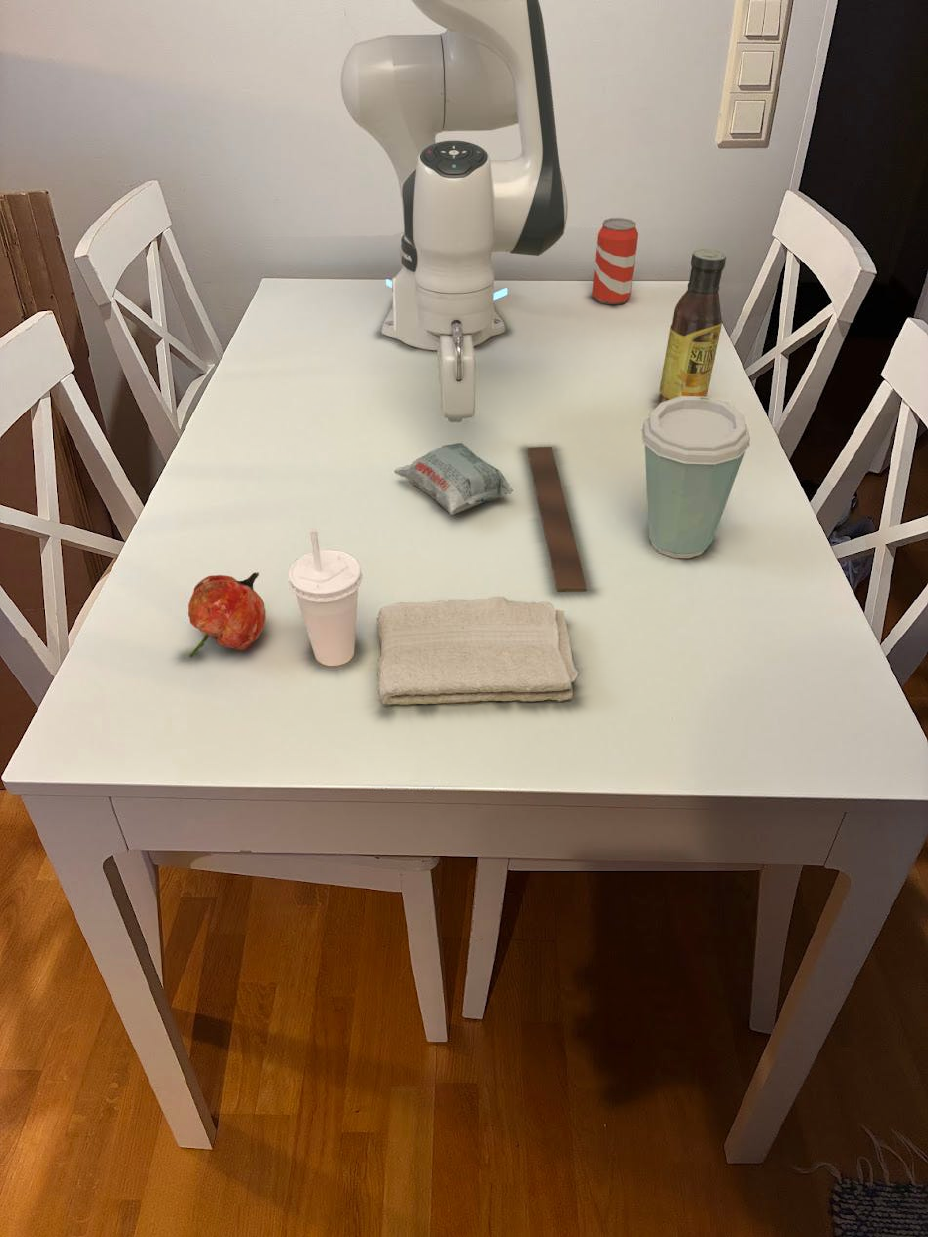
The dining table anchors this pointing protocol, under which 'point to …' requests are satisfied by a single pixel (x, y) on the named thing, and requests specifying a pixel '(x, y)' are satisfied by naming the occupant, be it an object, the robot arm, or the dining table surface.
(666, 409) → the disposable coffee cup
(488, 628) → the washcloth
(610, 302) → the beverage can
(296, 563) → the smoothie
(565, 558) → the ruler
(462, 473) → the packaged food
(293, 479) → the dining table surface
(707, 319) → the sauce bottle
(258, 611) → the pomegranate
